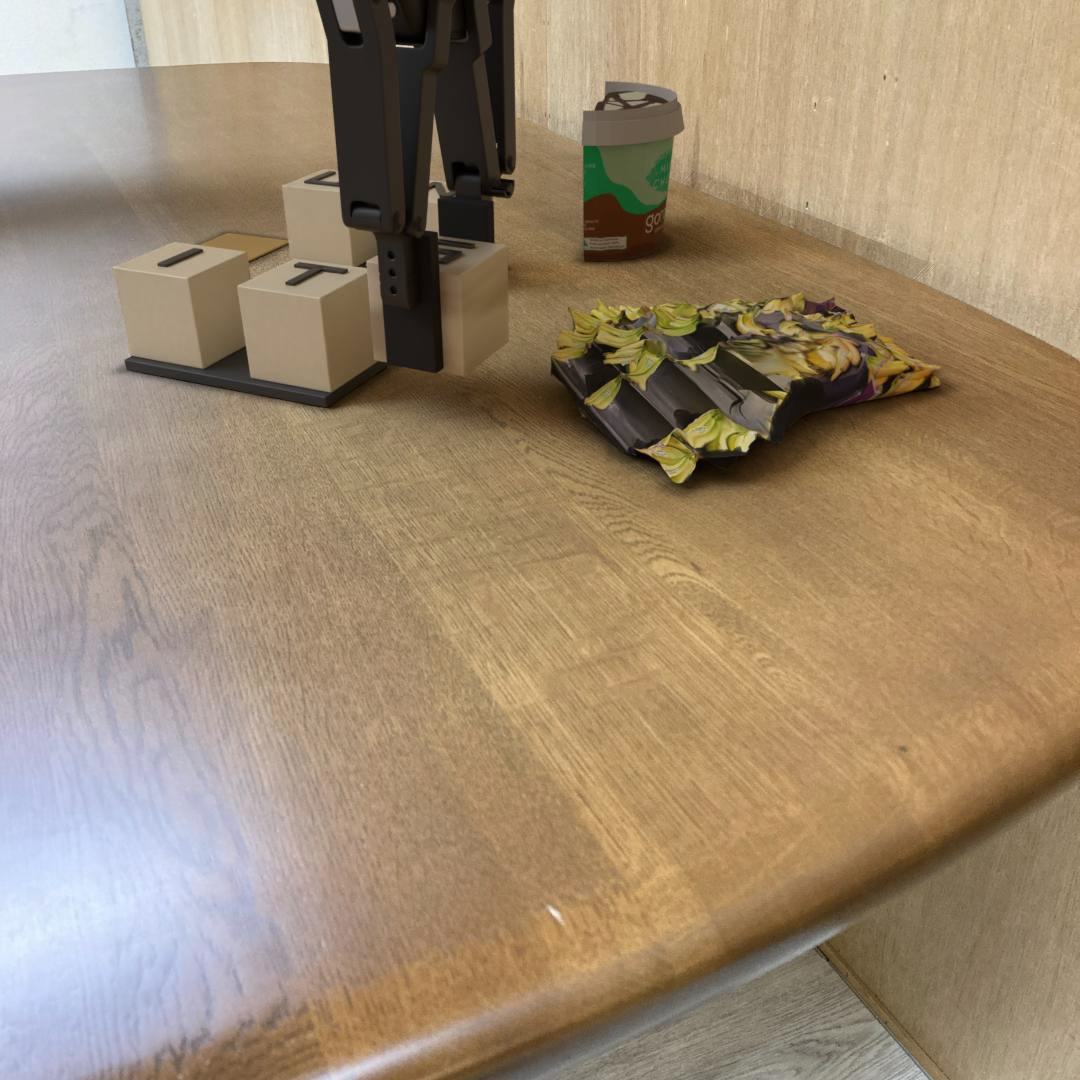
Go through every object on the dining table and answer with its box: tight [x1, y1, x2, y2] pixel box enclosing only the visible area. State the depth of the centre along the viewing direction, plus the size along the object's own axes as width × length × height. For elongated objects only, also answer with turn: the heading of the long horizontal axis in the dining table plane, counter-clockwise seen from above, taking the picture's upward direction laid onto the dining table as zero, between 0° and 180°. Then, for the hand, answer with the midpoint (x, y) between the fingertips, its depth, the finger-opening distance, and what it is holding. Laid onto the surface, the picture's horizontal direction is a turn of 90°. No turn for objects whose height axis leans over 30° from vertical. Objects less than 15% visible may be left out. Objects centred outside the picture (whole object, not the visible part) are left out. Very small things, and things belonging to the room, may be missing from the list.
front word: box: [112, 241, 388, 408], centre depth 61 cm, size 13×6×6 cm, turn 66°
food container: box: [581, 80, 685, 262], centre depth 79 cm, size 12×6×10 cm, turn 170°
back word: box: [199, 168, 494, 268], centre depth 77 cm, size 22×6×6 cm, turn 66°
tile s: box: [366, 236, 510, 378], centre depth 55 cm, size 5×5×5 cm
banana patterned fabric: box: [549, 292, 941, 484], centre depth 58 cm, size 20×16×7 cm
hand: (443, 344), depth 57 cm, fingers closed on tile s, 5 cm apart
